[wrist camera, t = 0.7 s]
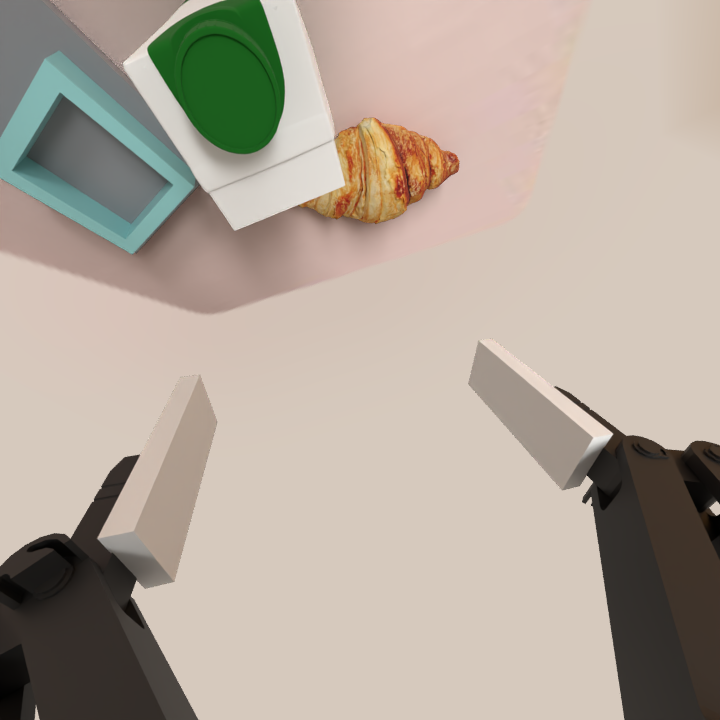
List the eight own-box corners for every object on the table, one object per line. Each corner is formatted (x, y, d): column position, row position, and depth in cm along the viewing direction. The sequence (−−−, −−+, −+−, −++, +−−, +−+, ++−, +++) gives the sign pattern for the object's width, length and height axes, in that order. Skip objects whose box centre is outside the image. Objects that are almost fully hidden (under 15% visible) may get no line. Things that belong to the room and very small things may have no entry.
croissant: (278, 193, 37) (291, 252, 36) (256, 117, 27) (273, 195, 26) (436, 168, 39) (452, 222, 38) (469, 89, 29) (492, 160, 28)
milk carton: (264, -44, 21) (308, -43, 10) (311, 109, 29) (367, 210, 17) (155, 7, 22) (77, 63, 10) (229, 144, 29) (232, 265, 18)
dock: (-145, 77, 21) (-194, 93, 18) (-80, -126, 16) (-133, -140, 14) (137, 247, 34) (131, 269, 32) (215, 162, 30) (214, 180, 28)
